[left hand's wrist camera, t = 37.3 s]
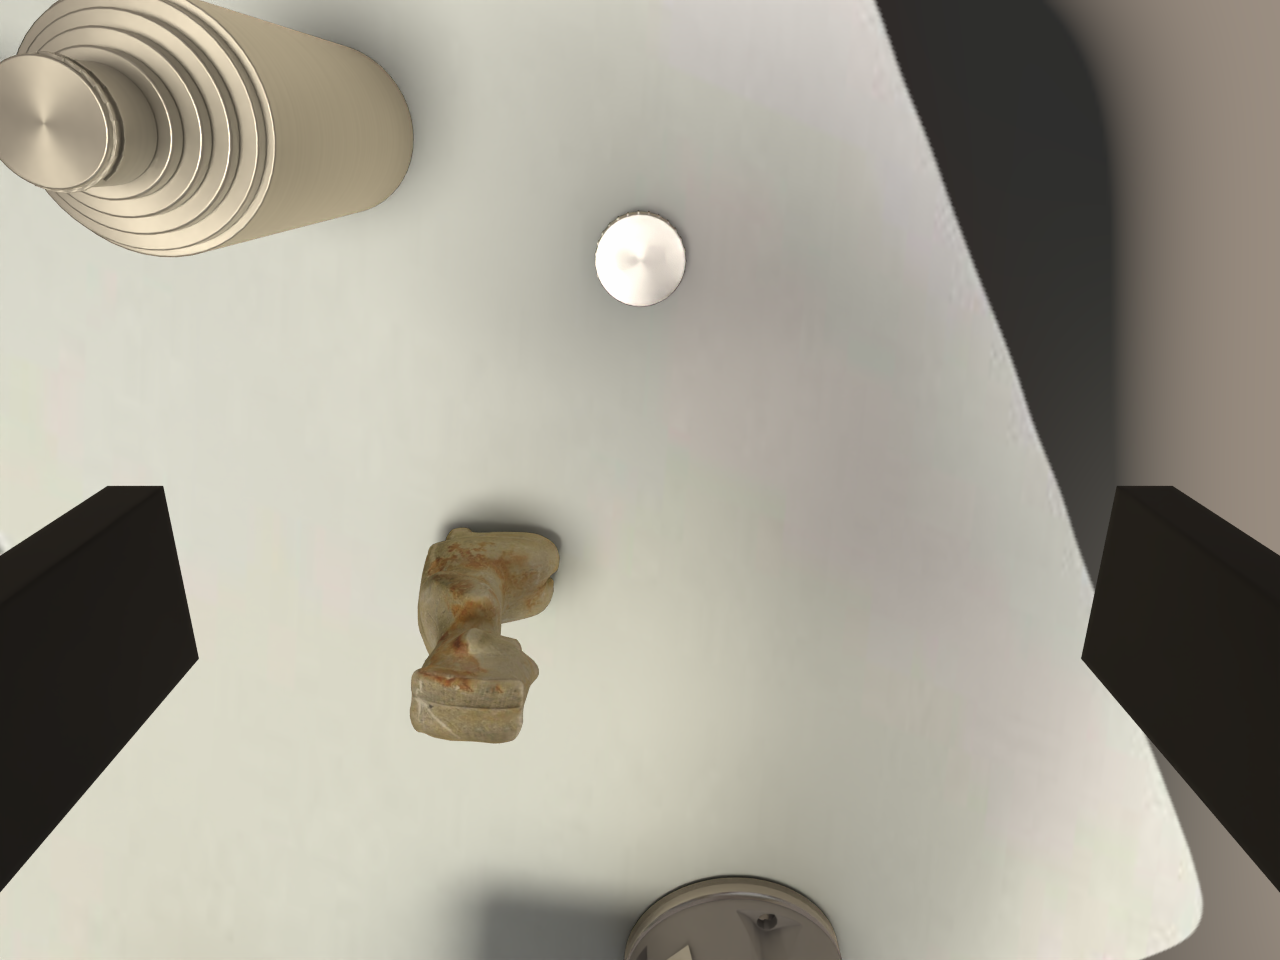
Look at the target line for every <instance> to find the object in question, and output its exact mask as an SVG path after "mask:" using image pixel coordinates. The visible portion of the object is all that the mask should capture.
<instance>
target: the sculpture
mask: <svg viewBox="0 0 1280 960" xmlns="http://www.w3.org/2000/svg"><path fill="white" fill-rule="evenodd" d="M558 566H559V553H558V550H557V548H556V546H555V544H554V543H553V542H551V541H550V540H549V539H547V538H545V537H543V536H541V535H538V534H533V533H527V532H490V533H476V532H472V531H471V530H470V529H468V528H456V529H453V530H451V531H450V533H449V534H448V536H447V538H446V541H442V542H438V543H435V544H433V545H432V546H431V547H430V548H429V550H428V555H427V557H426V561H425V565H424V569H423V573H422V579H421V585H420V592H419V601H418V625H419V630H420V633H421V636H422V638H423V641H424V644H425V646H426V649H427V651H428V653H429V656H428V658H427V659H426V660H425V662H424V664H423V666H422V668H420V669H418V670H416V671H415V672H414V673H413V675H412V679H411V691H412V701H411V707H410V719H411V723H412V725H413V727H414V729H415V730H416V731H418V732H422V733H425V734H427V735H429V736H432V737H435V738H440V739H445V740H450V741H475V742H485V743H504V742H509V741H512V740H514V739H515V738H516V737H517V735H518V734H519V732H520V730H521V727H522V724H523V707H524V703H525V700H526V697H527V694H528V691H529V688H530V685H531V684H532V683H533V682H534V680H535V679H536V678H537V677H538V674H539V669H538V666H537V664H536V663H535V662H534V661H533V660H532V659H531V658H530V657H529V656H527V655H526V654H525V653H524V652H523V651H522V648H521V645H520V643H519V642H518V640H516V639H513V638H509V637H505V636H501V624H502V623H507V622H512V621H516V620H520V619H525V618H528V617H532V616H534V615H537V614H539V613H541V612H542V611H543V610H544V609H545V608H546V607H547V606H548V604H549V602H550V601H551V598H552V595H553V591H554V590H553V583H554V581H553V580H552V579H551V578H550V576H551V575H552V574H553V573H555V572H556V571H557V570H558Z"/></svg>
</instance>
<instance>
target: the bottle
mask: <svg viewBox="0 0 1280 960" xmlns="http://www.w3.org/2000/svg"><path fill="white" fill-rule="evenodd" d="M412 151H413V127H412V121H411V116H410V113H409V110H408V107H407V104H406V102H405V99H404V97H403V95H402V93H401V91H400V90H399V88H398V86H397V85H396V83H395V82H394V81H393V79H392V78H391V77H390V75H389V74H388V73H387V72H386V71H385V70H384V69H383V68H382V67H381V66H380V65H378V64H377V63H376V62H375V61H374V60H372V59H371V58H369V57H368V56H366V55H365V54H363V53H361V52H359V51H357V50H355V49H352V48H349V47H346V46H343V45H340V44H337V43H334V42H330V41H327V40H324V39H321V38H318V37H315V36H311V35H308V34H305V33H302V32H299V31H296V30H292V29H289V28H286V27H283V26H280V25H277V24H274V23H270V22H267V21H264V20H261V19H258V18H255V17H251V16H248V15H245V14H242V13H239V12H236V11H232V10H229V9H226V8H223V7H220V6H217V5H213V4H210V3H207V2H204V1H201V0H58V1H57V2H56V3H54V4H53V5H52V6H51V7H50V8H49V9H48V10H46V11H45V12H44V13H43V14H42V15H41V16H40V17H39V18H38V19H37V20H36V21H35V22H34V24H33V25H32V26H31V28H30V29H29V31H28V32H27V33H26V35H25V37H24V39H23V41H22V43H21V45H20V47H19V49H18V52H17V55H15V56H11V57H9V58H7V59H5V60H3V61H2V62H0V160H1V161H2V162H3V163H4V164H5V165H6V166H7V167H8V168H9V169H10V170H11V171H13V172H14V173H15V174H17V175H18V176H19V177H21V178H22V179H24V180H26V181H28V182H30V183H32V184H34V185H35V186H38V187H41V188H44V189H45V190H46V191H47V193H48V194H49V195H50V196H51V197H52V198H53V199H54V201H55V202H56V203H57V204H58V205H59V206H60V207H61V208H62V209H63V210H64V211H66V212H67V213H68V214H69V215H70V216H71V217H72V218H74V219H75V220H76V221H78V222H79V223H81V224H82V225H83V226H85V227H86V228H88V229H89V230H91V231H92V232H94V233H95V234H97V235H98V236H100V237H102V238H104V239H106V240H107V241H109V242H111V243H113V244H116V245H118V246H120V247H123V248H125V249H128V250H131V251H135V252H138V253H142V254H146V255H152V256H159V257H182V256H191V255H195V254H199V253H203V252H207V251H211V250H215V249H218V248H222V247H226V246H230V245H234V244H238V243H242V242H245V241H249V240H253V239H257V238H261V237H265V236H269V235H273V234H276V233H280V232H284V231H288V230H292V229H296V228H300V227H303V226H307V225H311V224H315V223H319V222H323V221H327V220H331V219H334V218H338V217H342V216H346V215H350V214H354V213H358V212H361V211H365V210H368V209H370V208H373V207H375V206H376V205H378V204H380V203H381V202H383V201H384V200H386V199H387V198H388V197H389V196H390V195H391V194H392V193H393V192H394V191H395V190H396V189H397V188H398V186H399V185H400V183H401V182H402V180H403V178H404V176H405V174H406V172H407V170H408V167H409V164H410V161H411V156H412Z"/></svg>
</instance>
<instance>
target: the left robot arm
mask: <svg viewBox="0 0 1280 960" xmlns="http://www.w3.org/2000/svg"><path fill="white" fill-rule="evenodd" d="M198 659H199V657H198V652H197V647H196V643H195V638H194V633H193V628H192V623H191V618H190V614H189V609H188V604H187V599H186V594H185V589H184V585H183V580H182V575H181V570H180V565H179V560H178V556H177V551H176V546H175V541H174V536H173V531H172V526H171V522H170V517H169V512H168V507H167V502H166V497H165V493H164V488H163V486H107V487H105V488H104V489H102V490H101V491H99V492H97V493H96V494H94V495H93V496H91V497H90V498H88V499H87V500H85V501H84V502H82V503H81V504H79V505H78V506H76V507H74V508H73V509H71V510H70V511H68V512H67V513H65V514H64V515H62V516H61V517H59V518H58V519H56V520H54V521H53V522H51V523H50V524H48V525H47V526H45V527H44V528H42V529H41V530H39V531H38V532H36V533H34V534H33V535H31V536H30V537H28V538H27V539H25V540H24V541H22V542H21V543H19V544H18V545H16V546H15V547H13V548H11V549H10V550H8V551H7V552H5V553H4V554H2V555H1V556H0V892H1V891H2V890H3V888H4V887H5V886H6V885H7V884H8V883H9V881H10V880H11V879H12V878H13V877H14V875H15V874H16V873H17V872H18V871H19V870H20V868H21V867H22V866H23V865H24V864H25V863H26V861H27V860H28V859H29V858H30V857H31V855H32V854H33V853H34V852H35V851H36V850H37V848H38V847H39V846H40V845H41V844H42V843H43V841H44V840H45V839H46V838H47V837H48V835H49V834H50V833H51V832H52V831H53V830H54V828H55V827H56V826H57V825H58V824H59V823H60V821H61V820H62V819H63V818H64V817H65V815H66V814H67V813H68V812H69V811H70V810H71V808H72V807H73V806H74V805H75V804H76V803H77V801H78V800H79V799H80V798H81V797H82V795H83V794H84V793H85V792H86V791H87V790H88V788H89V787H90V786H91V785H92V784H93V783H94V781H95V780H96V779H97V778H98V777H99V775H100V774H101V773H102V772H103V771H104V770H105V768H106V767H107V766H108V765H109V764H110V763H111V761H112V760H113V759H114V758H115V757H116V755H117V754H118V753H119V752H120V751H121V750H122V748H123V747H124V746H125V745H126V744H127V743H128V741H129V740H130V739H131V738H132V737H133V735H134V734H135V733H136V732H137V731H138V730H139V728H140V727H141V726H142V725H143V724H144V723H145V721H146V720H147V719H148V718H149V717H150V715H151V714H152V713H153V712H154V711H155V710H156V708H157V707H158V706H159V705H160V704H161V703H162V701H163V700H164V699H165V698H166V697H167V695H168V694H169V693H170V692H171V691H172V690H173V688H174V687H175V686H176V685H177V684H178V682H179V681H180V680H181V679H182V678H183V677H184V675H185V674H186V673H187V672H188V671H189V670H190V668H191V667H192V666H193V665H194V664H195V662H196V661H197V660H198ZM1081 659H1082V660H1083V661H1084V662H1085V664H1086V665H1087V666H1088V667H1089V668H1090V670H1091V671H1092V672H1093V673H1094V674H1095V675H1096V677H1097V678H1098V679H1099V680H1100V681H1101V682H1102V684H1103V685H1104V686H1105V687H1106V688H1107V690H1108V691H1109V692H1110V693H1111V694H1112V695H1113V697H1114V698H1115V699H1116V700H1117V701H1118V703H1119V704H1120V705H1121V706H1122V707H1123V708H1124V710H1125V711H1126V712H1127V713H1128V714H1129V715H1130V717H1131V718H1132V719H1133V720H1134V721H1135V723H1136V724H1137V725H1138V726H1139V727H1140V728H1141V730H1142V731H1143V732H1144V733H1145V734H1146V735H1147V737H1148V738H1149V739H1150V740H1151V741H1152V743H1153V744H1154V745H1155V746H1156V747H1157V748H1158V750H1159V751H1160V752H1161V753H1162V754H1163V755H1164V757H1165V758H1166V759H1167V760H1168V761H1169V762H1170V764H1171V765H1172V766H1173V767H1174V768H1175V770H1176V771H1177V772H1178V773H1179V774H1180V775H1181V777H1182V778H1183V779H1184V780H1185V781H1186V783H1187V784H1188V785H1189V786H1190V787H1191V788H1192V790H1193V791H1194V792H1195V793H1196V794H1197V795H1198V797H1199V798H1200V799H1201V800H1202V801H1203V803H1204V804H1205V805H1206V806H1207V807H1208V808H1209V810H1210V811H1211V812H1212V813H1213V814H1214V815H1215V816H1216V818H1217V819H1218V820H1219V821H1220V823H1221V824H1222V825H1223V826H1224V827H1225V828H1226V830H1227V831H1228V832H1229V833H1230V834H1231V835H1232V837H1233V838H1234V839H1235V840H1236V841H1237V843H1238V844H1239V845H1240V846H1241V847H1242V848H1243V850H1244V851H1245V852H1246V853H1247V854H1248V855H1249V857H1250V858H1251V859H1252V860H1253V861H1254V862H1255V864H1256V865H1257V866H1258V867H1259V868H1260V870H1261V871H1262V872H1263V873H1264V874H1265V875H1266V877H1267V878H1268V879H1269V880H1270V881H1271V883H1272V884H1273V885H1274V886H1275V887H1276V888H1277V890H1278V891H1279V892H1280V556H1279V555H1278V554H1276V553H1275V552H1273V551H1272V550H1270V549H1269V548H1267V547H1266V546H1264V545H1262V544H1261V543H1259V542H1258V541H1256V540H1255V539H1253V538H1252V537H1250V536H1249V535H1247V534H1245V533H1244V532H1242V531H1241V530H1239V529H1238V528H1236V527H1235V526H1233V525H1232V524H1230V523H1229V522H1227V521H1225V520H1224V519H1222V518H1221V517H1219V516H1218V515H1216V514H1215V513H1213V512H1212V511H1210V510H1209V509H1207V508H1206V507H1204V506H1202V505H1201V504H1199V503H1198V502H1196V501H1195V500H1193V499H1192V498H1190V497H1189V496H1187V495H1186V494H1184V493H1182V492H1181V491H1179V490H1178V489H1176V488H1175V487H1173V486H1117V488H1116V493H1115V497H1114V502H1113V508H1112V512H1111V517H1110V522H1109V527H1108V531H1107V536H1106V541H1105V546H1104V551H1103V556H1102V560H1101V565H1100V570H1099V575H1098V580H1097V585H1096V589H1095V594H1094V599H1093V604H1092V609H1091V614H1090V618H1089V623H1088V628H1087V633H1086V638H1085V643H1084V647H1083V652H1082V657H1081ZM624 960H842V958H841V954H840V950H839V946H838V942H837V938H836V935H835V932H834V930H833V928H832V926H831V924H830V922H829V920H828V919H827V918H826V916H825V915H824V914H823V912H822V911H821V910H820V909H819V908H818V907H817V906H816V905H815V904H814V903H812V902H811V901H810V900H808V899H807V898H806V897H804V896H803V895H801V894H799V893H798V892H796V891H794V890H792V889H789V888H787V887H785V886H782V885H779V884H776V883H773V882H769V881H765V880H759V879H752V878H738V877H733V878H718V879H711V880H706V881H701V882H698V883H694V884H691V885H688V886H685V887H683V888H680V889H678V890H676V891H674V892H672V893H670V894H668V895H667V896H665V897H663V898H662V899H660V900H659V901H657V902H656V903H655V904H654V905H652V906H651V907H650V908H649V909H648V910H647V911H646V912H645V913H644V914H643V915H642V916H641V917H640V919H639V920H638V921H637V923H636V924H635V926H634V927H633V929H632V931H631V933H630V935H629V938H628V941H627V944H626V949H625V957H624Z"/></svg>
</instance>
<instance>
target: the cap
mask: <svg viewBox="0 0 1280 960" xmlns="http://www.w3.org/2000/svg"><path fill="white" fill-rule="evenodd" d="M597 245H598V246H597V250H596V252H595V255H596V256H595V266H596V271H597V276H598V277H599V280H600V282H601V284H602V286H603V287H604V288H605V290H606V291H607V292H608V293H609V294H610V295H611V296H612V297H614V298H615V299H616V300H618V301H620V302H622V303H624V304H627V305H631V306H639V307H643V306H650V305H654V304H657V303H659V302H661V301H663V300H664V299H666V298H667V297H669V296H670V295H671V294H672V293H673V292H674V291H675V289H676V288H677V287H678V285H679V284H680V282H681V280H682V277H683V274H684V272H685V262H686V258H685V251H686V250H685V247H684V246H683V244H682V238H681V236H680V237H679V235H678V233H677V230H676V228H675V227H673V226H672V225H671V224H670V223H669V220H665V219H664V218H662V217H660V215H659V214H658V215H656V214H653V213H650V211H648V212H640V211H639V210H638V212H632V213H629V212H627V214H625V215H622V216H621V217H619V216H618V217H617V219H616V220H614V221H613V222H612V223H611V222H610V223H609V225H608V227H607V228H606V230H605V231H604V230H603V232H602V236H601V239H600V240H598V243H597Z"/></svg>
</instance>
